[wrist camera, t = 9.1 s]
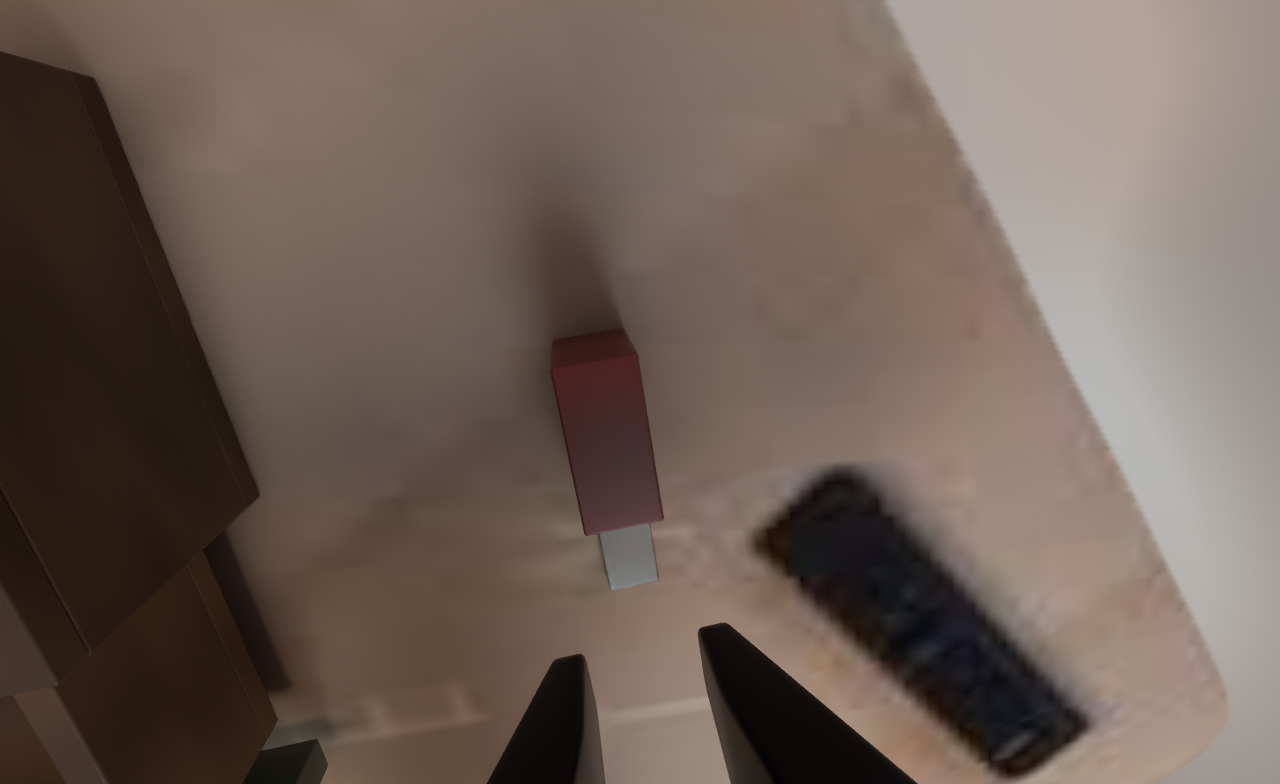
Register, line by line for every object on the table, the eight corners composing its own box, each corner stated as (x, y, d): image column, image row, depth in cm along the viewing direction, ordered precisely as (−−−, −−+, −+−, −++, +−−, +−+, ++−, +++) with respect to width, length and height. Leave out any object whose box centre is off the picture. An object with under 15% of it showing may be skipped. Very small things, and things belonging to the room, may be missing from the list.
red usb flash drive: (552, 339, 18) (549, 368, 15) (624, 326, 18) (637, 352, 15) (602, 586, 20) (609, 656, 17) (664, 572, 21) (683, 640, 17)
